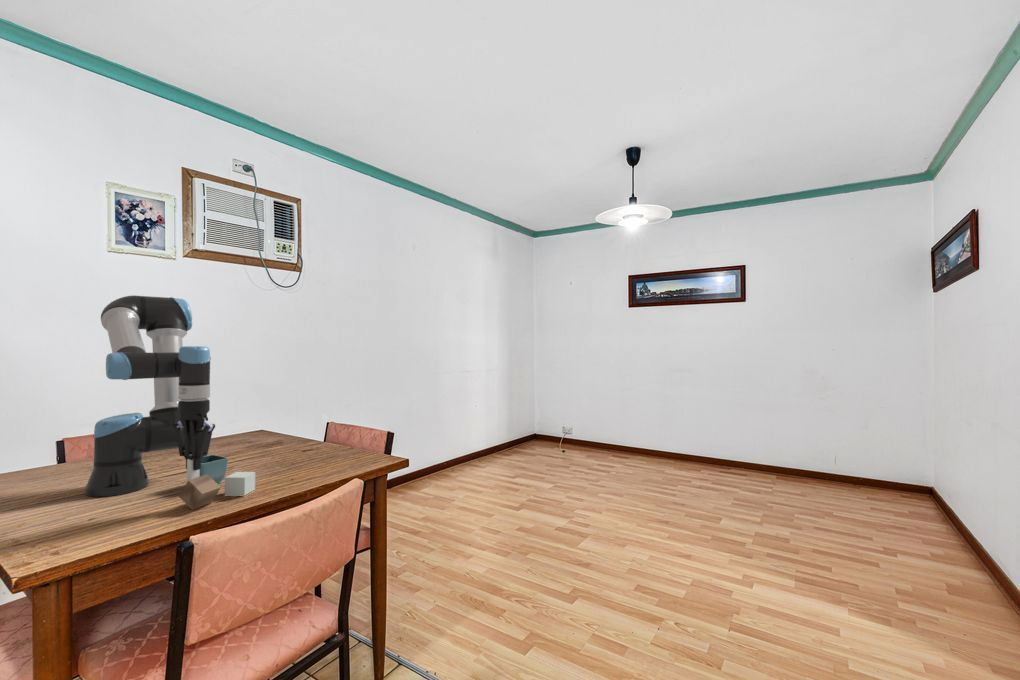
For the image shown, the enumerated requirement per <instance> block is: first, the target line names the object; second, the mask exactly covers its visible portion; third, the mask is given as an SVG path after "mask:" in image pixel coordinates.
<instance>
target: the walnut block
mask: <svg viewBox="0 0 1020 680" xmlns="http://www.w3.org/2000/svg"><path fill="white" fill-rule="evenodd" d="M221 487H222V486H220V484H219V485H218V484H217V483H216V482H215V481H214V480H213V479H212V478H211V477H210V476H209V475H208V474H207V475H204V476H200V477H197V478H194V479H191V480H188V482H187V481H186V483H185V485H184V487H183V489H182V490H181V492H180V494H179V496H178V498H179V499H180V500H182V502H183V503H185V505H186V506H187V507H188V508H189V509H191V510H192V511H195V510H197V509H201V508H202V506H203V507H205V506H207V504H208V505H210V504H212V502H213V501H214V499H215V498H216V496H217V494H218V493H219V491H220V490H221ZM209 503H210V504H209ZM204 505H205V506H204Z"/></svg>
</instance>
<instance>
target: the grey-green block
mask: <svg viewBox="0 0 1020 680" xmlns="http://www.w3.org/2000/svg"><path fill="white" fill-rule="evenodd" d="M253 490H255V491H256V472H255V471H235V472H232V473H231V474H229V475H227V476H224V497H225V496H240V495H246V494H248V493H249V492H251V491H253ZM253 492H254V491H253Z"/></svg>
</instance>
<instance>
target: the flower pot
mask: <svg viewBox="0 0 1020 680" xmlns="http://www.w3.org/2000/svg"><path fill="white" fill-rule="evenodd" d="M228 462H229V457H227V456H222V455H219V454H218V455H216V454H207V456H204V457H202V458H201V469H200V476H204V475H207V474H208V475H209V476H210V477H211V478H212V479H213V480H214V481H215V482H216V483H217V484H218V485H219V486H220V483H221V482H222V481H223V479H225V477H226V476H225V475H226V473H227V470H228ZM200 476H199V477H200Z"/></svg>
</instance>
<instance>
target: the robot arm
mask: <svg viewBox="0 0 1020 680" xmlns="http://www.w3.org/2000/svg"><path fill="white" fill-rule="evenodd" d="M100 322H101V325H102V327H103V328H104V329H105V330H106V331H107V335H108V340H109V344H110V348H111V352H109V353H108V354H106V358H105V375H106V377H107V378H108V379H109V380H123V381H126V380H127V381H128V380H141V379H153V390H154V391H153V392H154V407H152V409H150V410H149V413H148V414H149V415H148V416H143V414H142V413H141V412H133V413H124V414H119V415H113V416H108V417H105V418H102V419H99V420H98V421H97V422H96V423H95V424H94V429H93V430H94V432H93V433H94V434H93V436H92V437H93V439H94V440H93V443H94V444H93V468H92V470H91V474H90V476H89V478H88V481H87V484H86V485H85V496H87V497H94V498H95V497H99V498H101V497H112V496H119V495H124V494H130V493H132V492H137V491H140V490H142V489H144V488H146V487H148V486H149V476H148V475H147V471H146V469H145V467H144V464H143V461H142V460H143V459H142V458H143V453H144V454H145V453H151V452H159V451H160V452H161V451H166V450H167V451H168V450H173V449H175V450H178V454H179V456H180V457H183V458H184V459H185V469H186V483H187V482H188V480H191V479H194V478H197V477H199V476H200V469H201V458H202V457H204V456H208V455H209V450H210V445H211V440H212V435H213V431H214V429H215V428H216V424H215V423H210V422H209V417H208V413H209V412H210V406H211V405H210V404H211V403H210V402H211V401H210V399H209V398H210V397H211V384H210V382H211V359H212V357H211V349H210V347H208V346H203V345H202V346H201V345H200V346H199V345H198V346H197V345H196V346H194V345H193V346H191V345H189V346H188V345H187V346H184V345H183V338H184V337H186V336H187V335H188V331H191V329H192V328H193V327H192V326H193V313H192V310H191V307H190V304H189V303H188V301H187V300H185V299H184V298H177V297H163V296H149V295H147V296H146V295H145V296H144V295H135V294H134V295H126V296H122V297H120V298H116V299H115V300H113V301H111V302H109V303H108V304H107V305H106V306H105V307H104V308H103V310H102V311H101V314H100ZM140 330H145V331H146V333H145V334H146V336H147V337H148V338H150V339H151V342H152V345H151V346H152V352H147V351H146V347H145V344H144V342H143V341H144V340H143V338H142V336H141V332H140Z"/></svg>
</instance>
